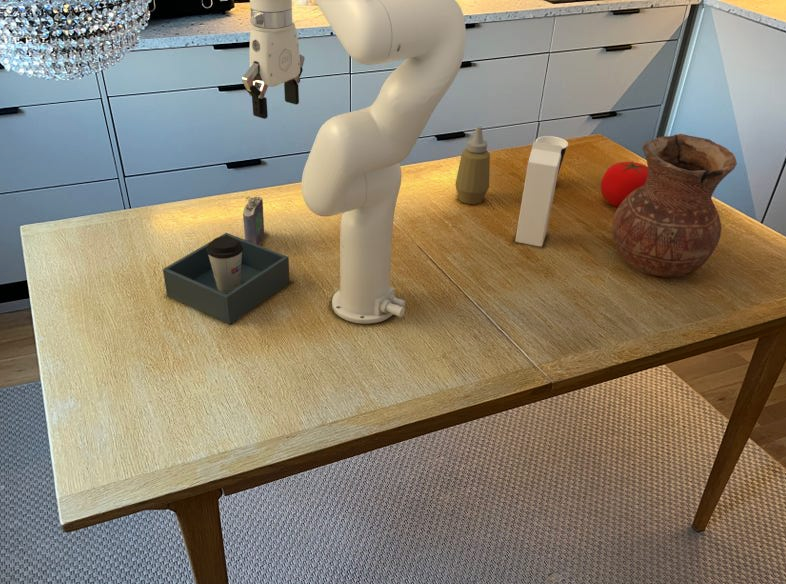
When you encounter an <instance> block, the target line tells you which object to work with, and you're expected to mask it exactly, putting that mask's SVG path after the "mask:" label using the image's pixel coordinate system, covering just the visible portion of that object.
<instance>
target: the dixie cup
mask: <svg viewBox="0 0 786 584" xmlns="http://www.w3.org/2000/svg"><path fill="white" fill-rule="evenodd" d="M534 142H539V143H545V144H552V145H558V146H561V147H562V149H561V160H560V165H559V171H558V174H559V173H560V170H561V167H562V163H563V161H564V158H565V154H566V150H567V148H568V147H569V142H568V141H567V140H566V139H564V138H562V137H558V136H554V135H544V136H540V137H537V138H536V139H535V141H534ZM558 176H559V175H558ZM558 176H557V178H558Z"/></svg>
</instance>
